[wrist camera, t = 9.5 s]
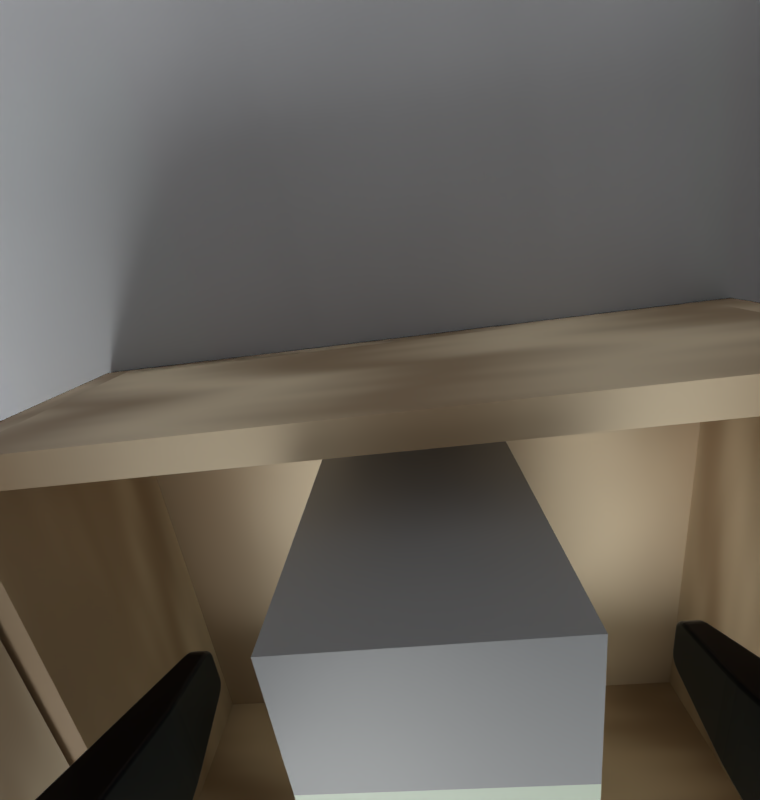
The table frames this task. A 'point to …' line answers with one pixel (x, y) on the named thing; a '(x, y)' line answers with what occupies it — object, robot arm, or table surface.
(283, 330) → the table surface
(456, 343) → the wooden cubby shelf
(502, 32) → the table surface
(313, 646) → the box
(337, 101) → the table surface
